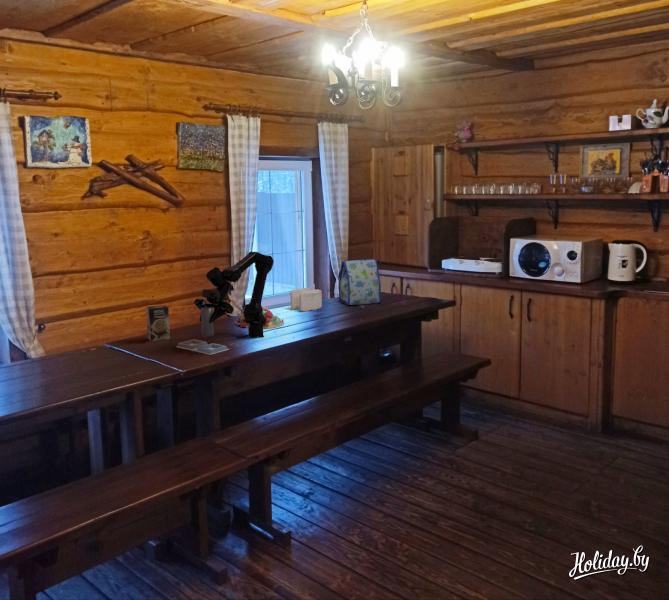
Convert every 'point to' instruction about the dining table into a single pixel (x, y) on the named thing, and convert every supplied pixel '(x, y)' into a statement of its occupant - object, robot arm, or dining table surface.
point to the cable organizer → (306, 299)
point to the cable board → (202, 347)
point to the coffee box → (158, 322)
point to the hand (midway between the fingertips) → (205, 322)
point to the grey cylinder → (206, 321)
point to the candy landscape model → (270, 322)
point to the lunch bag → (359, 282)
